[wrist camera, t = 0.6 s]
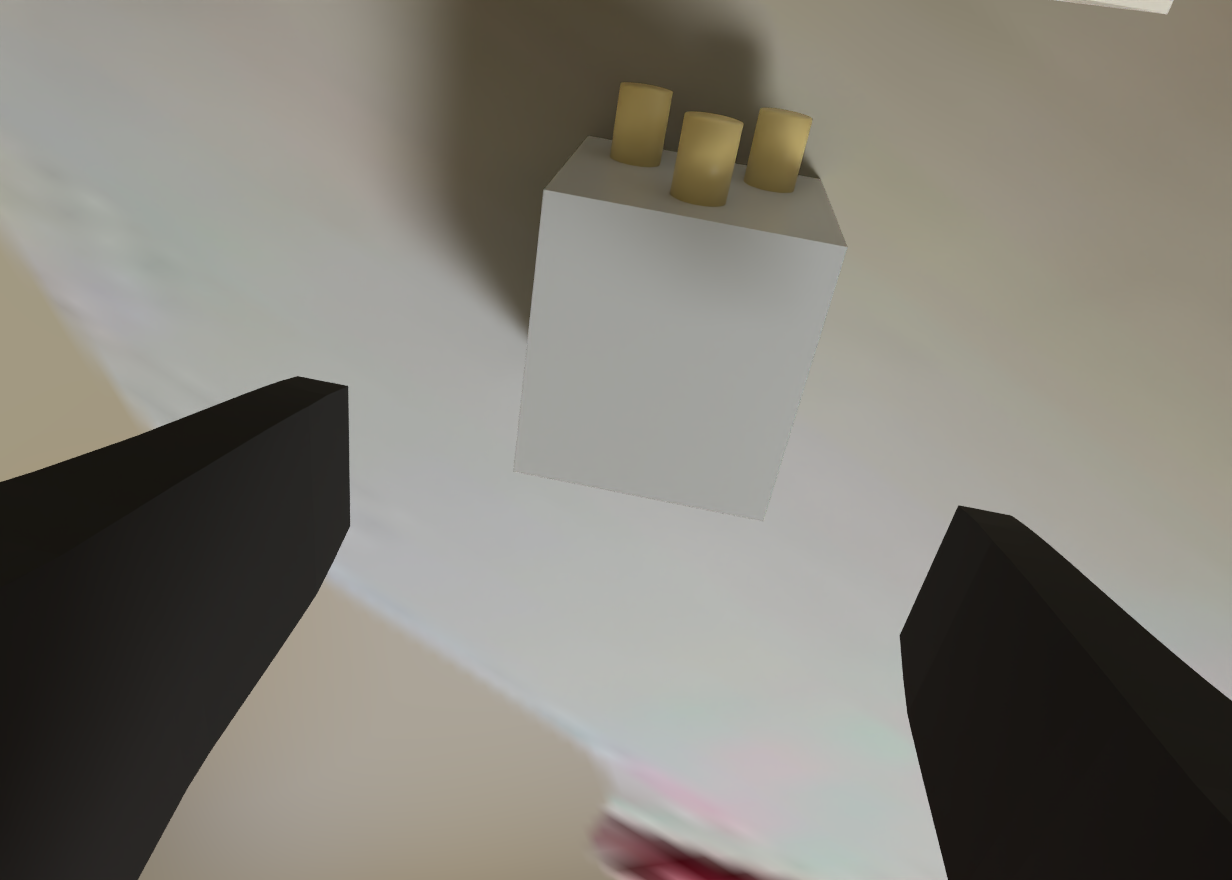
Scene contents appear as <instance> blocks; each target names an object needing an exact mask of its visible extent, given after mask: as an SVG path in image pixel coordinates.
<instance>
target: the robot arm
mask: <svg viewBox="0 0 1232 880" xmlns="http://www.w3.org/2000/svg"><path fill="white" fill-rule="evenodd" d="M349 527H350V483H349V413H348V386H345V385H340V384H335V383H330V382H324V381H319V380H314V379H309V378H304V377H299V376H297V377H293V378H290V379H286V380H283V381H279V382H276V383H273V384H270V385H268V386H265V387H262V388H259V389H257V390H254V391H251V392H249V393H246V394H243V395H241V396H238V397H236V398H233V399H230V400H228V401H225V402H223V403H220V404H218V405H215V406H212V407H210V408H207V409H205V410H202V411H200V412H197V413H195V414H192V415H189V416H187V417H184V418H182V419H179V420H176V421H174V422H171V423H169V424H166V425H164V426H161V427H158V428H156V429H153V430H151V431H148V432H145V433H143V434H140V435H138V436H135V437H132V438H129V439H127V440H124V441H121V442H118V443H115V444H112V445H109V446H106V447H104V448H101V449H98V450H95V451H92V452H89V453H86V454H83V455H81V456H78V457H75V458H72V459H69V460H66V461H63V462H60V463H58V464H55V465H52V466H49V467H46V468H43V469H40V470H37V471H35V472H32V473H28V474H25V475H22V476H19V477H15V478H12V479H9V480H6V481H3V482H0V880H138V878H139V876H140V874H141V873H142V871H143V869H144V867H145V865H146V863H147V862H148V860H149V858H150V856H151V854H152V852H153V851H154V849H155V847H156V845H157V843H158V841H159V839H160V838H161V836H162V834H163V832H164V830H165V828H166V827H167V825H168V823H169V821H170V819H171V817H172V816H173V814H174V812H175V810H176V808H177V806H178V805H179V803H180V801H181V799H182V797H183V795H184V794H185V792H186V790H187V788H188V786H189V785H190V783H191V782H192V780H193V779H194V777H195V775H196V774H197V772H198V771H199V769H200V767H201V766H202V764H203V762H204V761H205V759H206V758H207V756H208V754H209V753H210V751H211V750H212V748H213V747H214V745H215V744H216V742H217V741H218V739H219V738H220V737H221V735H222V734H223V732H224V731H225V729H226V728H227V726H228V725H229V723H230V722H231V720H232V719H233V717H234V716H235V714H236V713H237V712H238V710H239V709H240V707H241V706H242V704H243V703H244V701H245V700H246V698H247V697H248V695H249V694H250V692H251V691H252V690H253V688H254V687H255V685H256V684H257V682H258V681H259V679H260V678H261V676H262V675H263V673H264V672H265V671H266V669H267V668H268V666H269V665H270V663H271V662H272V660H273V659H274V657H275V656H276V654H277V653H278V652H279V650H280V648H281V647H282V646H283V644H284V643H285V641H286V640H287V638H288V637H289V635H290V633H291V632H292V631H293V629H294V628H295V626H296V625H297V623H298V622H299V620H300V619H301V617H302V616H303V614H304V613H305V611H306V610H307V608H308V607H309V605H310V604H311V602H312V600H313V599H314V597H315V596H316V594H317V593H318V591H319V589H320V587H321V585H322V583H323V581H324V579H325V577H326V575H327V573H328V571H329V569H330V567H331V565H332V563H333V561H334V559H335V557H336V555H337V552H338V550H339V548H340V546H341V544H342V542H343V540H344V538H345V535H346V533H347V531H348V529H349ZM900 644H901V656H902V669H903V680H904V688H905V697H906V706H907V714H908V718H909V723H910V727H911V732H912V736H913V740H914V744H915V748H916V752H917V757H918V761H919V765H920V769H921V773H922V777H923V781H924V785H925V789H926V793H927V797H928V801H929V805H930V809H931V813H932V817H933V821H934V825H935V829H936V833H937V837H938V841H939V845H940V849H941V853H942V857H943V861H944V865H945V869H946V873H947V877H948V880H1232V701H1231V700H1230V699H1229V698H1227V697H1226V696H1225V695H1224V694H1222V693H1221V692H1220V691H1219V690H1217V689H1216V688H1215V687H1214V686H1212V685H1211V684H1210V683H1209V682H1207V681H1206V680H1205V679H1204V678H1202V677H1201V676H1200V675H1199V674H1198V673H1196V672H1195V671H1194V670H1193V669H1192V668H1191V667H1189V666H1188V665H1187V664H1186V663H1185V662H1183V661H1182V660H1181V659H1180V658H1179V657H1177V656H1176V655H1175V654H1174V653H1173V652H1171V651H1170V650H1169V649H1168V648H1167V647H1166V646H1164V645H1163V644H1162V643H1161V642H1160V641H1159V640H1157V639H1156V638H1155V637H1154V636H1153V635H1152V634H1150V633H1149V632H1148V631H1147V630H1146V629H1145V628H1144V627H1142V626H1141V625H1140V624H1139V623H1138V622H1137V621H1136V620H1134V619H1133V618H1132V617H1131V616H1130V615H1129V614H1127V613H1126V612H1125V611H1124V610H1123V609H1122V608H1121V607H1120V606H1118V605H1117V604H1116V603H1115V602H1114V601H1113V600H1112V599H1110V598H1109V597H1108V596H1107V595H1106V594H1105V593H1104V592H1103V591H1101V590H1100V589H1099V588H1098V587H1097V586H1096V585H1095V584H1093V583H1092V582H1091V581H1090V580H1089V579H1088V578H1087V577H1086V576H1084V575H1083V574H1082V573H1081V572H1080V571H1079V570H1078V569H1077V568H1075V567H1074V566H1073V565H1072V564H1071V563H1070V562H1069V561H1067V560H1066V559H1065V558H1064V557H1063V556H1062V555H1060V554H1059V553H1058V552H1057V551H1056V550H1055V549H1053V548H1052V547H1051V546H1050V545H1049V544H1048V543H1046V542H1045V541H1044V540H1043V539H1042V538H1040V537H1039V536H1038V535H1037V534H1035V533H1034V532H1033V531H1032V530H1030V529H1029V528H1028V527H1027V526H1025V525H1024V524H1022V523H1021V522H1020V521H1018V520H1017V519H1015V518H1014V517H1013V516H1010V515H1005V514H1000V513H995V512H990V511H985V510H980V509H975V508H969V507H964V506H959V505H958V508H957V510H956V512H955V514H954V516H953V519H952V521H951V523H950V525H949V528H948V530H947V532H946V534H945V536H944V539H943V541H942V543H941V545H940V547H939V550H938V552H937V554H936V556H935V559H934V561H933V563H932V565H931V567H930V570H929V572H928V574H927V576H926V578H925V581H924V583H923V585H922V587H921V590H920V592H919V594H918V596H917V598H916V601H915V603H914V605H913V607H912V609H911V612H910V614H909V616H908V618H907V620H906V623H905V625H904V627H903V629H902V632H901V634H900Z"/></svg>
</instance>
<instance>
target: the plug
mask: <svg viewBox="0 0 1232 880" xmlns="http://www.w3.org/2000/svg"><path fill="white" fill-rule="evenodd" d="M672 95H673V92H672V91H670V90H668V89H665V88H662V87H658V86H654V85H649V84H643V83H634V82H622V83H621V84H620V91H619V98H618V105H617V111H616V118H615V125H614V132H613V139H612V140H609V139H603V138H598V137H593V136H587V138H586V139H585V140H584V141H583V143H582V144H581V145H580V146H579V147H578V149H577V150H576V151H575V152H574V153H573V155H572V156H571V157H570V158H569V159H568V161H567V162H566V163H565V164H564V166H563V167H562V168H561V169H560V170H559V172H558V173H557V174H556V175H555V176H554V178H553V179H552V180H551V181H550V182H549V184H548V185H547V186H546V187H545V189H544V191H543V201H542V210H541V219H540V228H539V238H538V247H537V256H536V265H535V275H534V284H533V293H532V302H531V312H530V321H529V330H528V339H527V349H526V358H525V367H524V376H523V386H522V395H521V404H520V414H519V423H518V432H517V441H516V451H515V460H514V469H513V472H518V473H523V474H528V475H533V476H538V477H544V478H549V479H554V480H559V481H564V482H569V483H574V484H579V485H584V486H589V487H594V488H599V489H604V490H609V491H614V492H619V493H624V494H629V495H634V496H639V497H644V498H649V499H654V500H659V501H664V502H669V503H674V504H679V505H684V506H689V507H694V508H699V509H704V510H709V511H714V512H719V513H724V514H729V515H734V516H739V517H744V518H749V519H754V520H759V521H764V517H765V514H766V511H767V508H768V504H769V501H770V498H771V495H772V491H773V488H774V485H775V482H776V478H777V475H778V472H779V469H780V465H781V462H782V459H783V456H784V452H785V449H786V446H787V443H788V439H789V436H790V433H791V430H792V426H793V423H794V420H795V417H796V413H797V410H798V407H799V404H800V400H801V397H802V394H803V391H804V387H805V384H806V381H807V377H808V374H809V371H810V368H811V364H812V361H813V358H814V355H815V351H816V348H817V345H818V342H819V338H820V335H821V332H822V329H823V325H824V322H825V319H826V316H827V312H828V309H829V306H830V303H831V299H832V296H833V293H834V290H835V286H836V283H837V280H838V277H839V273H840V270H841V267H842V264H843V260H844V257H845V254H846V251H847V245H846V242H845V239H844V237H843V234H842V232H841V229H840V227H839V224H838V222H837V219H836V217H835V214H834V212H833V209H832V206H831V204H830V201H829V199H828V196H827V194H826V191H825V189H824V186H823V184H822V181H821V179H817V178H812V177H806V176H801V175H798V173H799V169H800V165H801V162H802V158H803V154H804V150H805V146H806V143H807V139H808V135H809V131H810V127H811V124H812V120H813V119H812V118H811V117H809V116H807V115H804V114H801V113H797V112H793V111H788V110H783V109H777V108H760V111H759V116H758V120H757V124H756V129H755V133H754V137H753V142H752V146H751V150H750V155H749V159H748V163H747V165H742V164H737V163H735V160H736V156H737V151H738V147H739V142H740V138H741V133H742V129H743V123H742V122H741V121H739V120H736V119H734V118H731V117H727V116H723V115H719V114H713V113H707V112H698V111H689V112H685V115H684V120H683V125H682V131H681V136H680V141H679V147H678V152H673V151H667V150H663V145H664V140H665V134H666V128H667V123H668V117H669V112H670V106H671V100H672Z"/></svg>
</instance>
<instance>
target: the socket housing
mask: <svg viewBox="0 0 1232 880" xmlns="http://www.w3.org/2000/svg"><path fill="white" fill-rule="evenodd" d="M1056 1H1065V2H1073V3H1081V4H1089V5H1097V6H1105V7H1114V8H1122V9H1130V10H1138V11H1146V12H1154V13H1163V14H1168V11H1169V9H1170V7H1171V5H1172V2H1173V0H1056Z"/></svg>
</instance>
